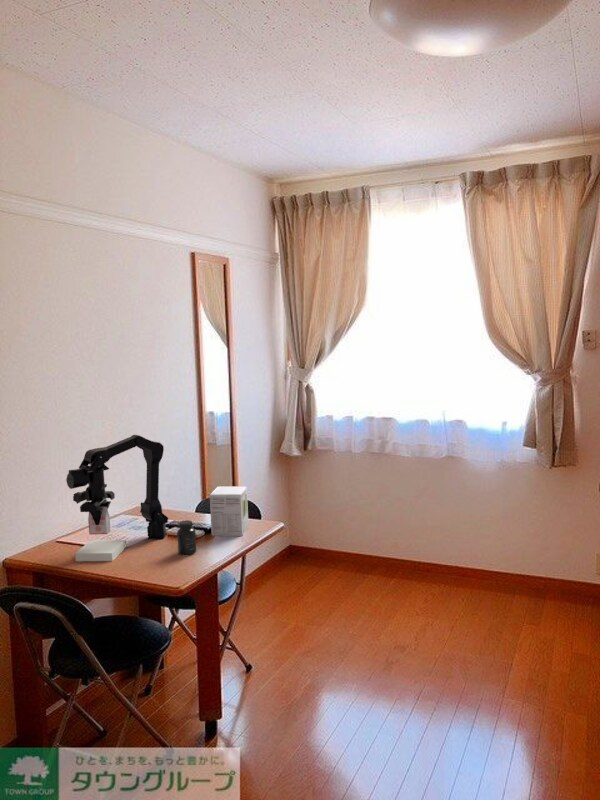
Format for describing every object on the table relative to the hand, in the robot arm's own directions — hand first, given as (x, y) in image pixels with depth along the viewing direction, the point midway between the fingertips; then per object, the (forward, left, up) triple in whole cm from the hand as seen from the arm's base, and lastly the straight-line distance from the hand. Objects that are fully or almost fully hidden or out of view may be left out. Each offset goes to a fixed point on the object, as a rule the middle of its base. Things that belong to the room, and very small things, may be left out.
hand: (99, 523), depth 228 cm
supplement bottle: (-33, -1, -12) cm, 35 cm away
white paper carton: (0, 0, -4) cm, 4 cm away
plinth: (0, 0, -12) cm, 12 cm away
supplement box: (-45, -26, -12) cm, 53 cm away
